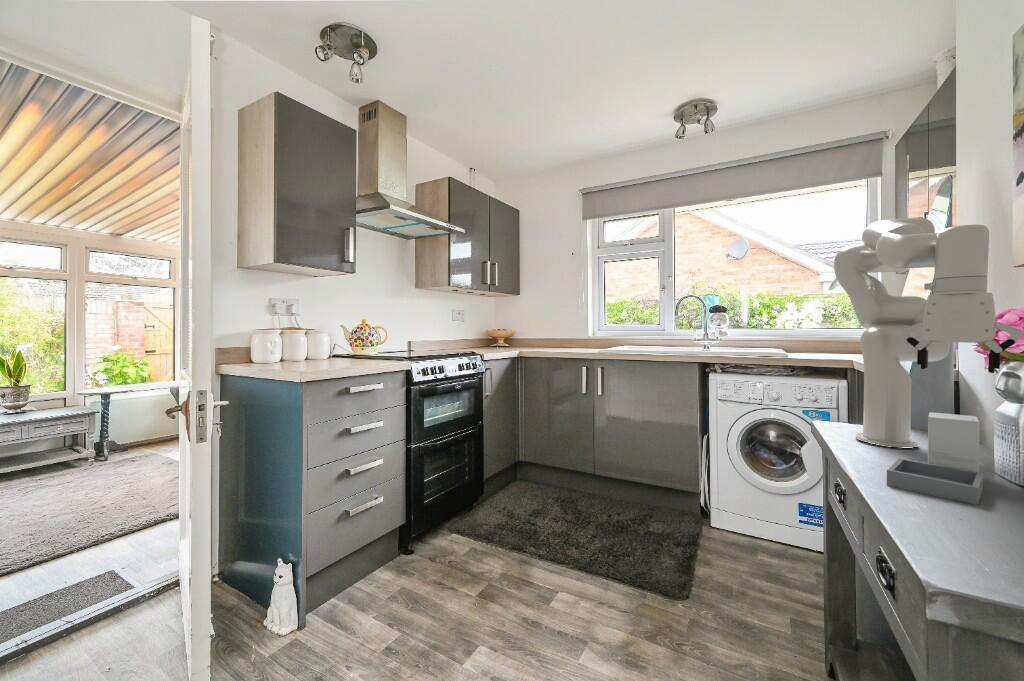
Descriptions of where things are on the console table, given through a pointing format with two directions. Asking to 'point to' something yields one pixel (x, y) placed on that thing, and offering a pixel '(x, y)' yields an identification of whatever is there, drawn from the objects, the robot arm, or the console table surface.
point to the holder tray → (936, 480)
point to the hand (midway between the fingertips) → (956, 370)
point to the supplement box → (953, 441)
